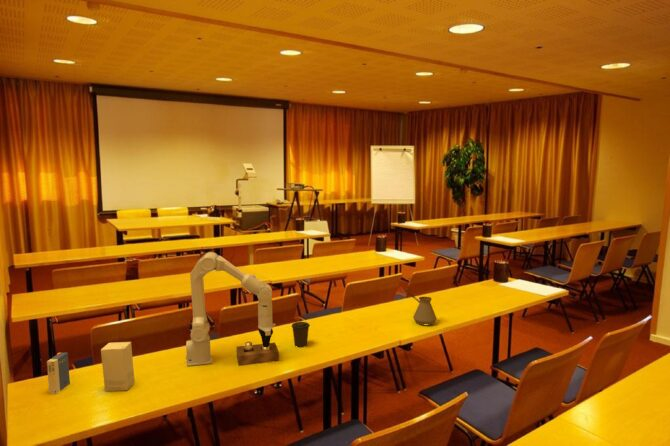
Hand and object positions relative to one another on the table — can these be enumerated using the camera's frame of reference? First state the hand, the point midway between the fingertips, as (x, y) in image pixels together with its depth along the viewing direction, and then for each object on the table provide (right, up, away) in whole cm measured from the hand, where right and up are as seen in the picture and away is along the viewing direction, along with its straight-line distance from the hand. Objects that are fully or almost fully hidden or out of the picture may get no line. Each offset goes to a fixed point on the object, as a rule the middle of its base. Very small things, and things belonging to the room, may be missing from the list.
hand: (266, 346), depth 186 cm
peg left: (-7, -2, -2) cm, 7 cm away
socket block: (-3, -5, 0) cm, 6 cm away
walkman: (-69, -8, -26) cm, 74 cm away
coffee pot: (+70, 0, +46) cm, 84 cm away
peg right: (0, -4, 0) cm, 4 cm away
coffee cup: (+13, -3, +14) cm, 19 cm away
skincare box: (-48, -8, -25) cm, 55 cm away
